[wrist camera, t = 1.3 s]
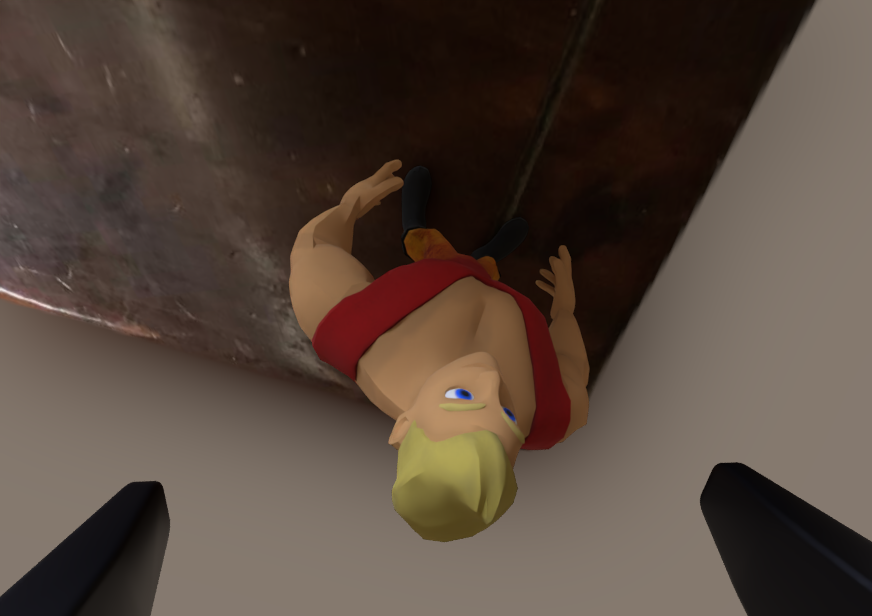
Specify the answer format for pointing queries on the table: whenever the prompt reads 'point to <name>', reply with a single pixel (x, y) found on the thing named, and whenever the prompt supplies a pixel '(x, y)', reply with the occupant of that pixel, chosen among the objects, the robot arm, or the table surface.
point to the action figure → (443, 354)
